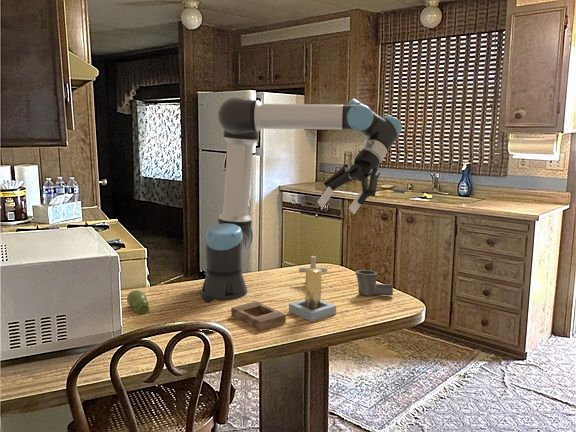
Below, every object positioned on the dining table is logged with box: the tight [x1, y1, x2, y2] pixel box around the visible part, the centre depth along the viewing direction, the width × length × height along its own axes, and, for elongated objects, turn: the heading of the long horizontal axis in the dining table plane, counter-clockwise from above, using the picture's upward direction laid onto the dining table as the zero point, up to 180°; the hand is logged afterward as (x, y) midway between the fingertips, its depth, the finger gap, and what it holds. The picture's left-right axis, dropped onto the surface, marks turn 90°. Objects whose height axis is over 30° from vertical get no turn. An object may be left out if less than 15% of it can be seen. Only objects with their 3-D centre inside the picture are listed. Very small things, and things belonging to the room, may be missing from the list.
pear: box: [126, 289, 150, 315], centre depth 166 cm, size 6×5×10 cm
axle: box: [304, 269, 323, 310], centre depth 160 cm, size 5×5×13 cm
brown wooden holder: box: [230, 300, 287, 332], centre depth 156 cm, size 14×9×4 cm, turn 40°
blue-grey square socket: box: [288, 298, 337, 322], centre depth 161 cm, size 10×10×4 cm
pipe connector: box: [298, 255, 328, 274], centre depth 193 cm, size 10×10×10 cm
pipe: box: [355, 269, 394, 297], centre depth 182 cm, size 6×13×8 cm, turn 79°
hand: (335, 208), depth 166 cm, fingers open, 13 cm apart
